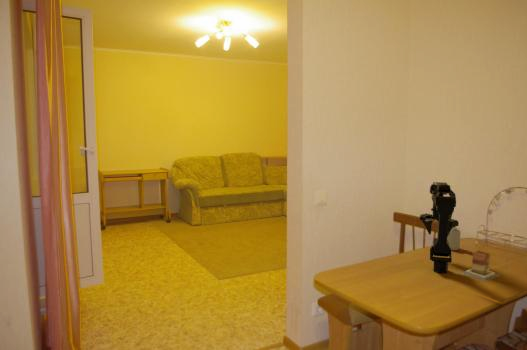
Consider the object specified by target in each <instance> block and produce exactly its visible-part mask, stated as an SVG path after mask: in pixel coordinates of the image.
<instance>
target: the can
mask: <svg viewBox="0 0 527 350" xmlns="http://www.w3.org/2000/svg"><path fill="white" fill-rule="evenodd" d="M461 233H462V232H461V230H460V228H458V227H457V226H456V227H454V228H452V229H451V231H450V233H449V235H448V237H447V239H448V242H449V246H450V247H451V251H459V249H460V247H461Z"/></svg>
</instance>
